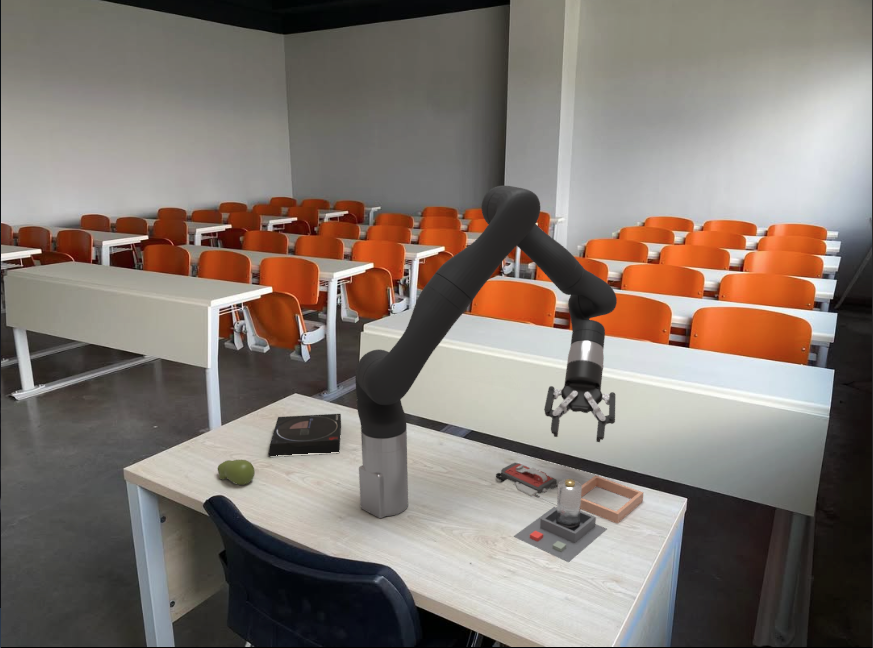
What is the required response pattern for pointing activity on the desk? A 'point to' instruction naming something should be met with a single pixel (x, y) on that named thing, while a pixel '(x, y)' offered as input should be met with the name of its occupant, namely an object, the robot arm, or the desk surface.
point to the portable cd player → (306, 435)
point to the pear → (236, 471)
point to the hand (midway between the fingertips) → (576, 438)
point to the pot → (616, 488)
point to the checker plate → (561, 535)
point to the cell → (569, 504)
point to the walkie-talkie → (527, 479)
